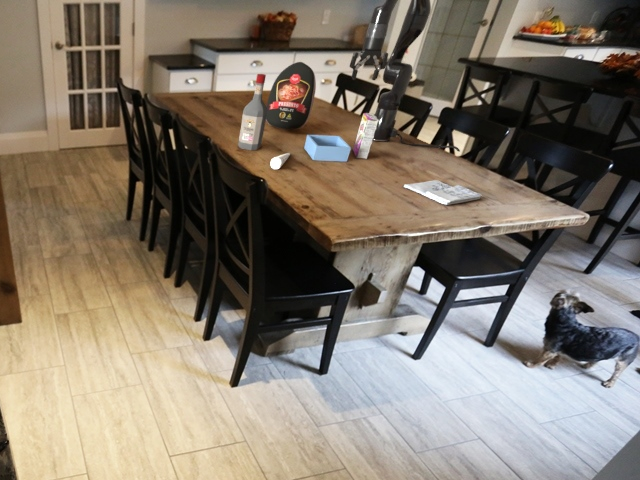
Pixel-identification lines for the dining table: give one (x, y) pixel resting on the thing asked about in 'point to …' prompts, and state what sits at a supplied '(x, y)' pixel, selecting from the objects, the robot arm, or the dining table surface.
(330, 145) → the crate
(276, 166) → the unicorn horn
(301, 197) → the dining table surface
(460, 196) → the folded newspaper
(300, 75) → the packaged food
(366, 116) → the candy bar box
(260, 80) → the liquor
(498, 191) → the dining table surface
